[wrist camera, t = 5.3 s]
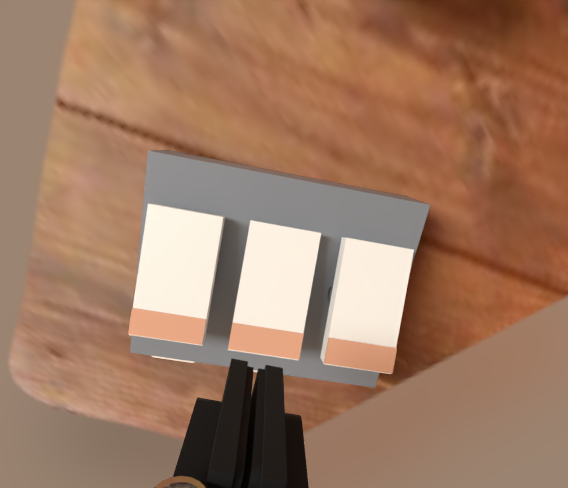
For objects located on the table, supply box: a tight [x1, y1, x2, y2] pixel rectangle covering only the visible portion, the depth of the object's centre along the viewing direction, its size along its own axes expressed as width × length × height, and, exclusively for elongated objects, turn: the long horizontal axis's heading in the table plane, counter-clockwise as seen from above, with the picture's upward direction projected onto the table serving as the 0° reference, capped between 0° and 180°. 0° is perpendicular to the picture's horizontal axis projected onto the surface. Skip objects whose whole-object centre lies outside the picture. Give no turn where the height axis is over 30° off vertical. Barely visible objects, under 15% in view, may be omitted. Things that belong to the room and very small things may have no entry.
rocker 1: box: [128, 204, 225, 346], centre depth 22 cm, size 4×8×1 cm, turn 169°
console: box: [130, 150, 430, 388], centre depth 25 cm, size 18×14×5 cm
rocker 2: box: [228, 220, 321, 360], centre depth 22 cm, size 4×8×1 cm, turn 169°
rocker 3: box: [320, 237, 414, 374], centre depth 23 cm, size 4×8×1 cm, turn 169°
